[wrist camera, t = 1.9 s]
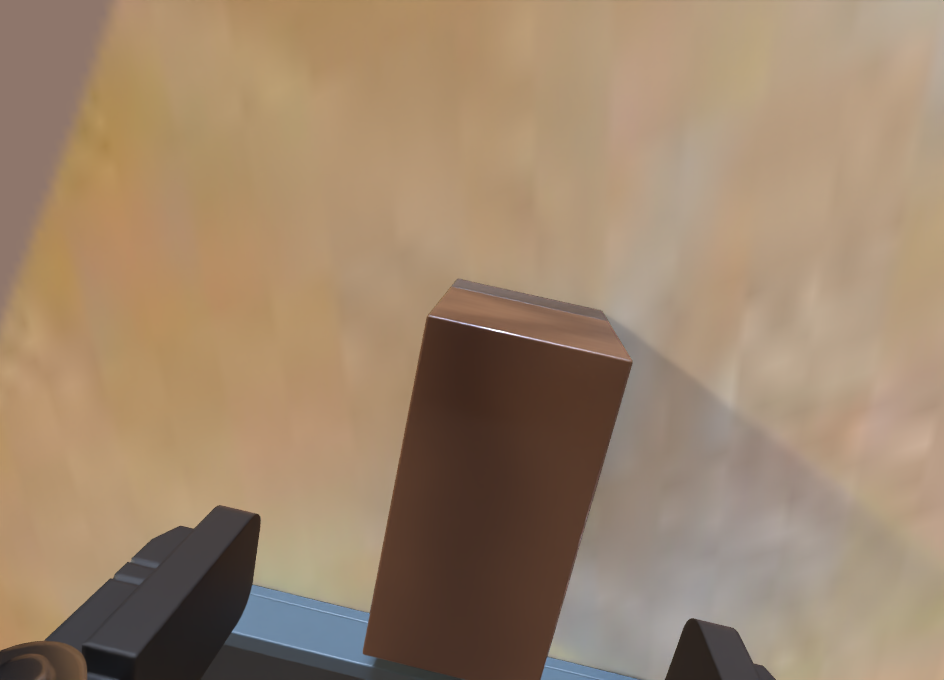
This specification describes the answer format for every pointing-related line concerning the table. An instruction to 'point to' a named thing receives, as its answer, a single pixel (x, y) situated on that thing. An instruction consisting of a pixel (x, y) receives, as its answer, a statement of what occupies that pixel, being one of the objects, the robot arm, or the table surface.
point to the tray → (326, 646)
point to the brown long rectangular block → (494, 482)
